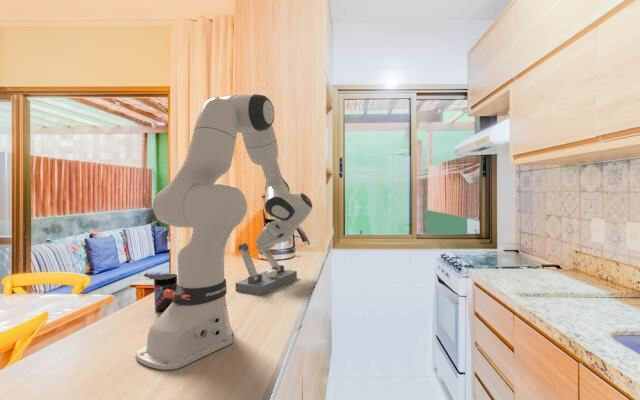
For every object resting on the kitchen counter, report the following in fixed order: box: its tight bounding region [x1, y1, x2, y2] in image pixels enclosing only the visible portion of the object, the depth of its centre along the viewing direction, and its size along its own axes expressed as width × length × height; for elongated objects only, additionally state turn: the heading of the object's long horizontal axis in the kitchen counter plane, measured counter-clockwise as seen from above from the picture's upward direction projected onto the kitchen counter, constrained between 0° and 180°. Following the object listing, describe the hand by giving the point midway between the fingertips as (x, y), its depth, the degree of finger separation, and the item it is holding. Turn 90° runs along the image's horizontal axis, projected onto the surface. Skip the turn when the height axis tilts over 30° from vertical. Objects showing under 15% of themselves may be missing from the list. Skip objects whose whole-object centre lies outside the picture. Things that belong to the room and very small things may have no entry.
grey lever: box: [237, 242, 260, 282], centre depth 120 cm, size 3×3×15 cm
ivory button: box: [267, 268, 277, 278], centre depth 125 cm, size 4×4×3 cm
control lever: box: [256, 244, 282, 272], centre depth 134 cm, size 3×3×15 cm
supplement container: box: [153, 273, 178, 313], centre depth 101 cm, size 7×7×10 cm
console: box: [235, 264, 298, 296], centre depth 126 cm, size 24×12×5 cm, turn 153°
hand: (265, 249), depth 135 cm, fingers closed, pressing on control lever
